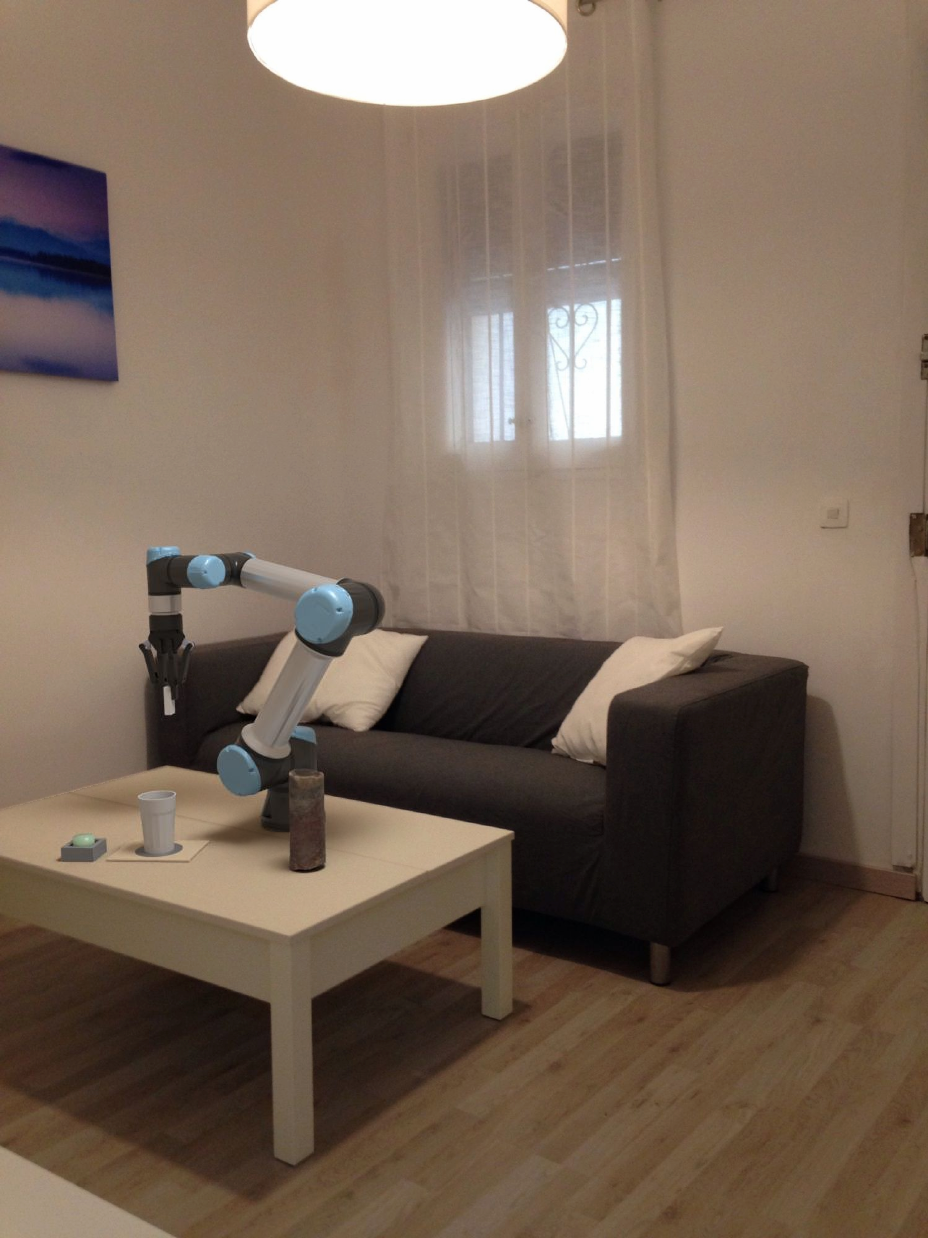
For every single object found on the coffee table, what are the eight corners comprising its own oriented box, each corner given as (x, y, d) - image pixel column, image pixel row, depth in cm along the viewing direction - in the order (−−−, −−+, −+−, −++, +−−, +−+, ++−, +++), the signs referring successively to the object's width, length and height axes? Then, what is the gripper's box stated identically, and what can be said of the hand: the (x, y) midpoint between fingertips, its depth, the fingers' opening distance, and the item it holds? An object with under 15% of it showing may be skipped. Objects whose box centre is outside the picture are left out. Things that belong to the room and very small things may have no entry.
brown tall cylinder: (310, 859, 235) (307, 765, 233) (334, 865, 231) (331, 770, 229) (282, 868, 229) (279, 772, 227) (306, 875, 225) (303, 778, 223)
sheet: (209, 842, 248) (209, 840, 248) (188, 862, 234) (188, 860, 234) (131, 841, 250) (131, 839, 250) (105, 861, 236) (105, 859, 236)
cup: (167, 856, 237) (165, 800, 236) (133, 854, 239) (130, 799, 238) (184, 844, 245) (182, 791, 244) (151, 843, 247) (149, 789, 245)
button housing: (106, 851, 243) (106, 838, 242) (93, 862, 236) (92, 848, 235) (75, 851, 243) (75, 838, 243) (61, 861, 236) (60, 847, 236)
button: (98, 849, 241) (97, 833, 241) (89, 855, 237) (89, 839, 237) (78, 849, 242) (78, 833, 241) (69, 855, 237) (69, 839, 237)
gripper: (198, 611, 261) (202, 710, 264) (144, 611, 263) (148, 710, 265) (187, 614, 254) (191, 716, 256) (132, 614, 255) (136, 716, 257)
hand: (169, 713), depth 261 cm, fingers closed
